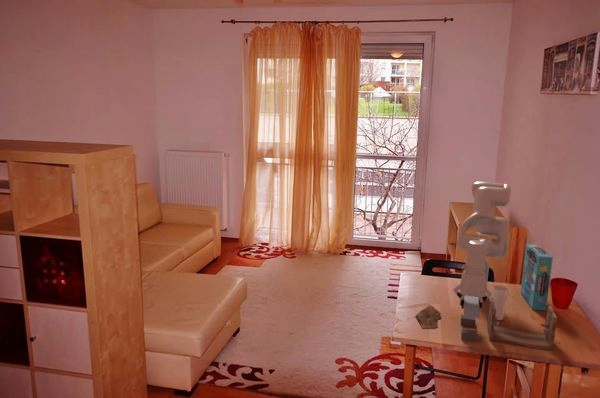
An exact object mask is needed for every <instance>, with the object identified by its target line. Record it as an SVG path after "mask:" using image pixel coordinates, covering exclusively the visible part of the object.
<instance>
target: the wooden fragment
mask: <svg viewBox="0 0 600 398" xmlns="http://www.w3.org/2000/svg"><path fill="white" fill-rule="evenodd" d="M441 314H442V313H441V312H440V311H439V310H437V309H436V308H435V307H434V306H432V305H430V304H429V305H427V306H426V307H425V308H423V309H422V310H421V311H419V312H418V313H417V314H415V318H416V319H417V320H418V323H419V325H420V326H421V327H422V328H421V329H422V330H424V329H425V330H427V329H428V330H431V329H437V328H438V329H439V326H438V320H440V319H442V316H441Z"/></svg>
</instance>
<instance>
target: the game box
mask: <svg viewBox="0 0 600 398" xmlns="http://www.w3.org/2000/svg"><path fill="white" fill-rule="evenodd" d="M523 262H524V263H523V268H522V269H523V271H522V278H521V285H520V294H521V296H522V297H523V299H524V300H525V301H526V302H527V304H528V305H529V307H530V308H531V310H533V311H546V312H547V306H548V305H547V304H548V303H547V302H548V295H549V287H550V281H551V280H550V279H551V273H552V272H551V271H552V264H553V256H552V255H551V254H549V253H548V252H547V251H546V250H545V249H543V247H542V246H540V245H539V244H531V243H526V244H525V253H524V261H523Z"/></svg>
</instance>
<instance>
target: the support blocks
mask: <svg viewBox="0 0 600 398" xmlns="http://www.w3.org/2000/svg"><path fill="white" fill-rule="evenodd" d="M476 322H477V321H476V318H475V317H468V316H464V313H461V314H460V325H462V326H463V325H464V326H469V327H470V326H471V327H476ZM460 338H461V339H460V340H463V339H464V340H463V341H470V342H477V341H478V331H477V330H475V329H470V328H464V327H462V328H461V331H460Z"/></svg>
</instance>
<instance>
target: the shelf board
mask: <svg viewBox="0 0 600 398" xmlns="http://www.w3.org/2000/svg"><path fill="white" fill-rule="evenodd" d="M463 315H464V316H468V317H475V319H480V316H481V309H480V308H479V301H478V297H473V296H466V295H465V297H464V308H463Z"/></svg>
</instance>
